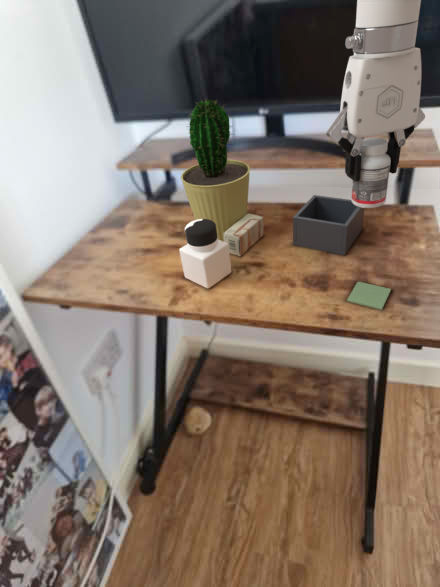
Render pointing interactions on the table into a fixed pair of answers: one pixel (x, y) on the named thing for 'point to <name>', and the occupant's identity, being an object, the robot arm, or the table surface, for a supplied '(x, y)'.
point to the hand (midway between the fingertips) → (371, 173)
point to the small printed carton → (244, 234)
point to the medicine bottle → (204, 254)
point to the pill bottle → (372, 174)
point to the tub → (327, 224)
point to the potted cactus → (215, 170)
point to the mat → (369, 295)
